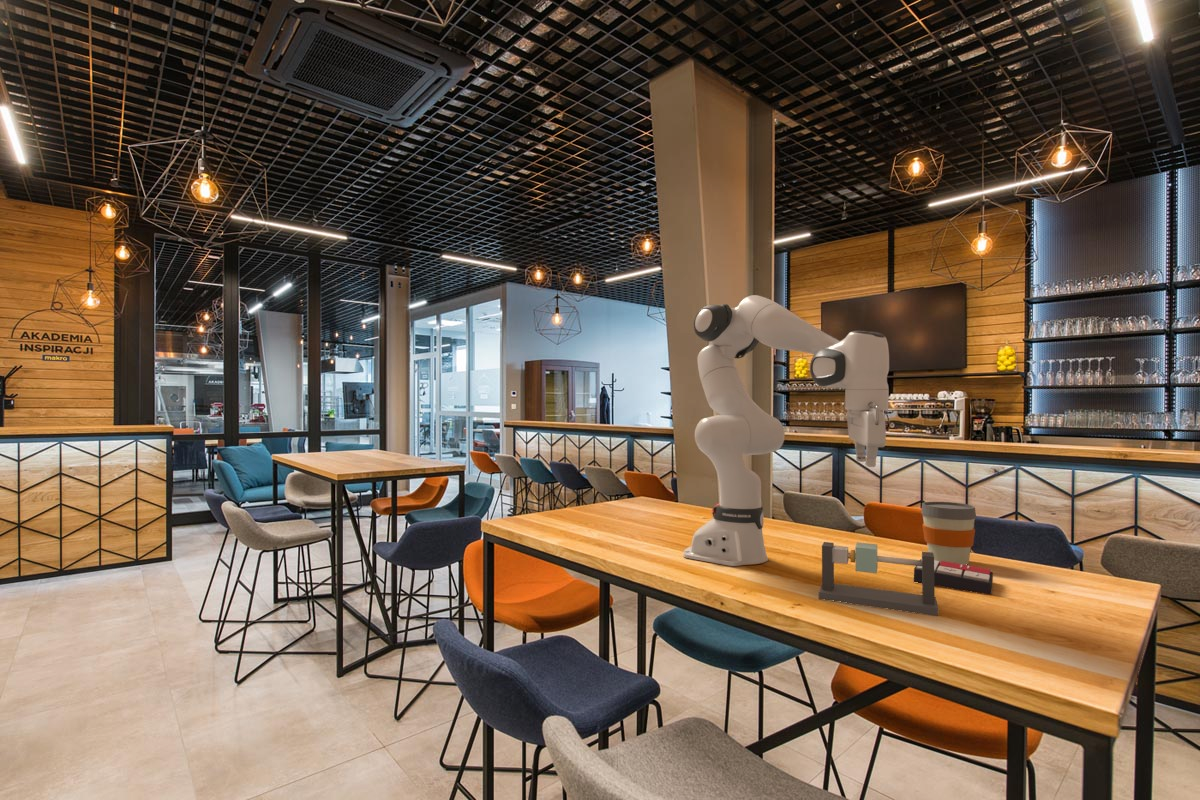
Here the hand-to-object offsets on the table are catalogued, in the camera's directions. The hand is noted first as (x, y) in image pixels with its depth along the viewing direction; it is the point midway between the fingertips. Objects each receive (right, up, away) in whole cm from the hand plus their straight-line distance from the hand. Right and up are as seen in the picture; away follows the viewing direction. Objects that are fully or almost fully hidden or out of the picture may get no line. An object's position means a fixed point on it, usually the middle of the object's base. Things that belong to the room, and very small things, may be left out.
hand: (865, 464), depth 128 cm
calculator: (+23, -29, +5) cm, 37 cm away
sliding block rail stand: (-1, -28, -8) cm, 29 cm away
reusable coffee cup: (+33, -29, +23) cm, 50 cm away
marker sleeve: (-3, -22, -7) cm, 23 cm away
